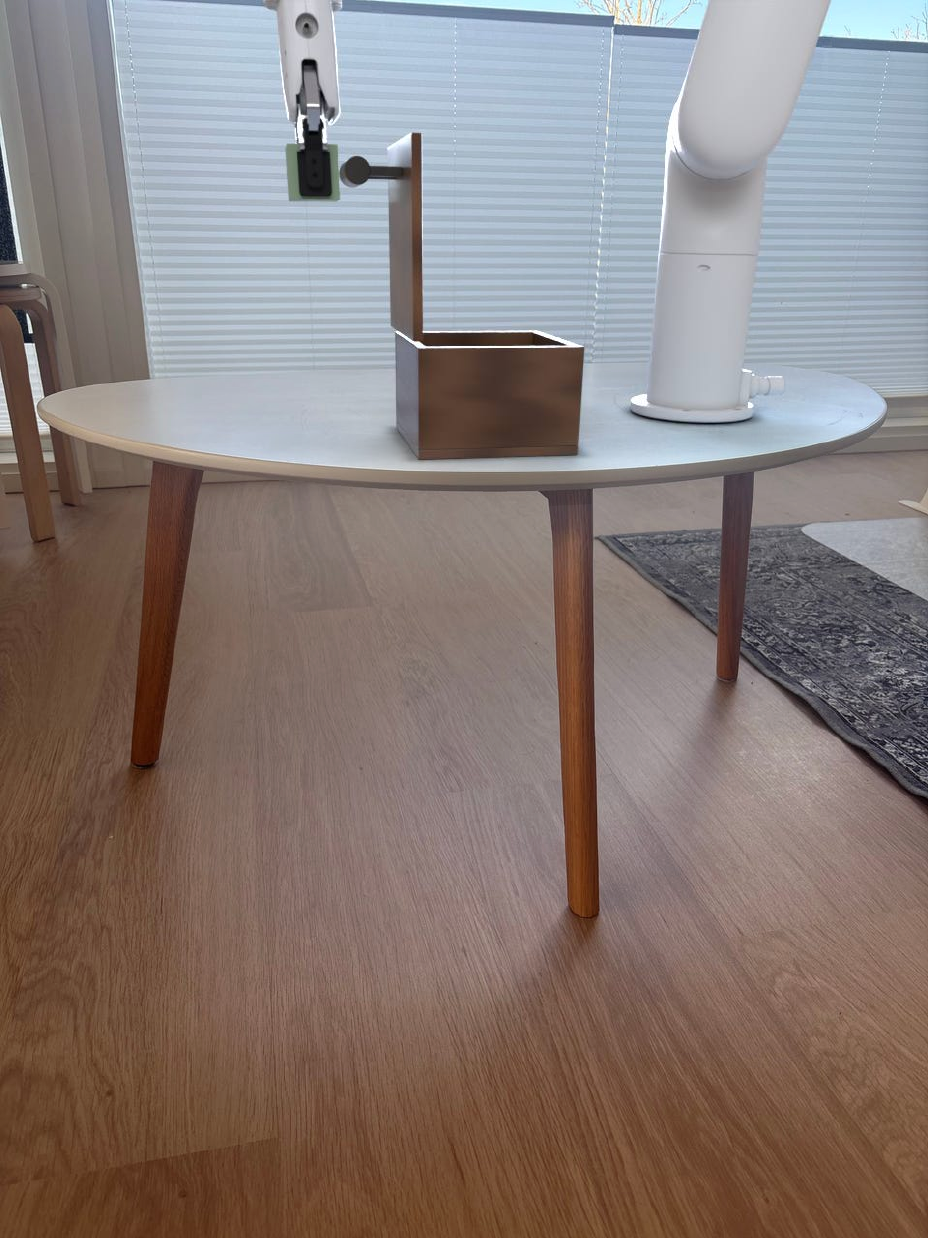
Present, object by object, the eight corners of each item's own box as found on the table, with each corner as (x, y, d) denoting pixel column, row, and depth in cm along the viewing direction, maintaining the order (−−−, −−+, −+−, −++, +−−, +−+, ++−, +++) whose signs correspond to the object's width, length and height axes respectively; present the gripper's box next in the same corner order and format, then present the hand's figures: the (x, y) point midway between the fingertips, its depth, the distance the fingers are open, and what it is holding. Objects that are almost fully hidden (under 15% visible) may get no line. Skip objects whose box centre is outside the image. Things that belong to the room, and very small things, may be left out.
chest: (534, 424, 91) (538, 330, 87) (578, 454, 78) (584, 346, 75) (396, 428, 88) (395, 331, 85) (418, 459, 76) (418, 347, 72)
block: (336, 201, 98) (334, 148, 96) (340, 199, 94) (337, 143, 92) (288, 201, 97) (285, 147, 96) (290, 199, 93) (286, 143, 91)
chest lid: (396, 148, 79) (334, 146, 78) (422, 132, 67) (348, 129, 66) (399, 326, 85) (340, 326, 84) (423, 341, 72) (355, 342, 71)
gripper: (349, -34, 82) (358, 193, 89) (334, 10, 97) (344, 200, 104) (262, -38, 80) (278, 193, 87) (261, 7, 96) (275, 200, 103)
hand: (314, 195), depth 95 cm, fingers closed on block, 5 cm apart
